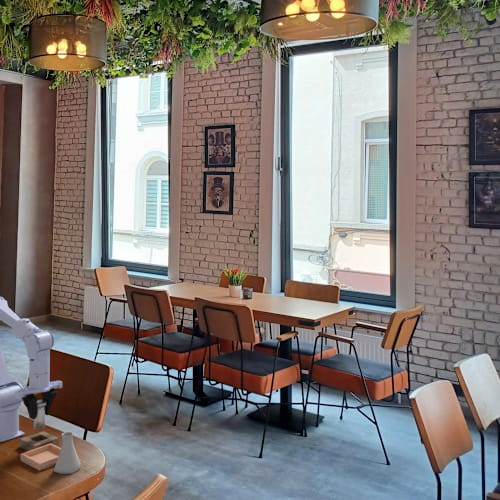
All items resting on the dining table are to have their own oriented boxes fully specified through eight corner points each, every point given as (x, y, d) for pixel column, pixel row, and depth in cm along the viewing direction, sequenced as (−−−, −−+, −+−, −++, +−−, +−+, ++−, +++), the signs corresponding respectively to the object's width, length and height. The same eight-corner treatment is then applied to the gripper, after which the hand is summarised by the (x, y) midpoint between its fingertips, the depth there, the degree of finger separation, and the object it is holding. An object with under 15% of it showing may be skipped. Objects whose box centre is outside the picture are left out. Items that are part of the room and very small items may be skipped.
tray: (20, 460, 161) (20, 453, 161) (50, 449, 169) (50, 443, 169) (40, 470, 155) (40, 463, 155) (70, 459, 163) (70, 452, 163)
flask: (73, 476, 153) (73, 440, 152) (48, 473, 154) (48, 437, 154) (85, 464, 160) (86, 430, 159) (62, 461, 162) (62, 427, 161)
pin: (29, 427, 170) (29, 402, 170) (41, 423, 174) (41, 398, 173) (36, 431, 168) (37, 405, 167) (49, 427, 171) (49, 401, 171)
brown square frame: (19, 447, 170) (19, 438, 170) (43, 438, 177) (43, 431, 177) (34, 454, 166) (34, 446, 165) (58, 445, 172) (58, 437, 172)
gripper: (24, 380, 161) (24, 426, 162) (68, 369, 173) (68, 413, 174) (11, 375, 166) (11, 420, 167) (54, 365, 177) (54, 407, 178)
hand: (39, 416), depth 171 cm, fingers closed on pin, 4 cm apart
